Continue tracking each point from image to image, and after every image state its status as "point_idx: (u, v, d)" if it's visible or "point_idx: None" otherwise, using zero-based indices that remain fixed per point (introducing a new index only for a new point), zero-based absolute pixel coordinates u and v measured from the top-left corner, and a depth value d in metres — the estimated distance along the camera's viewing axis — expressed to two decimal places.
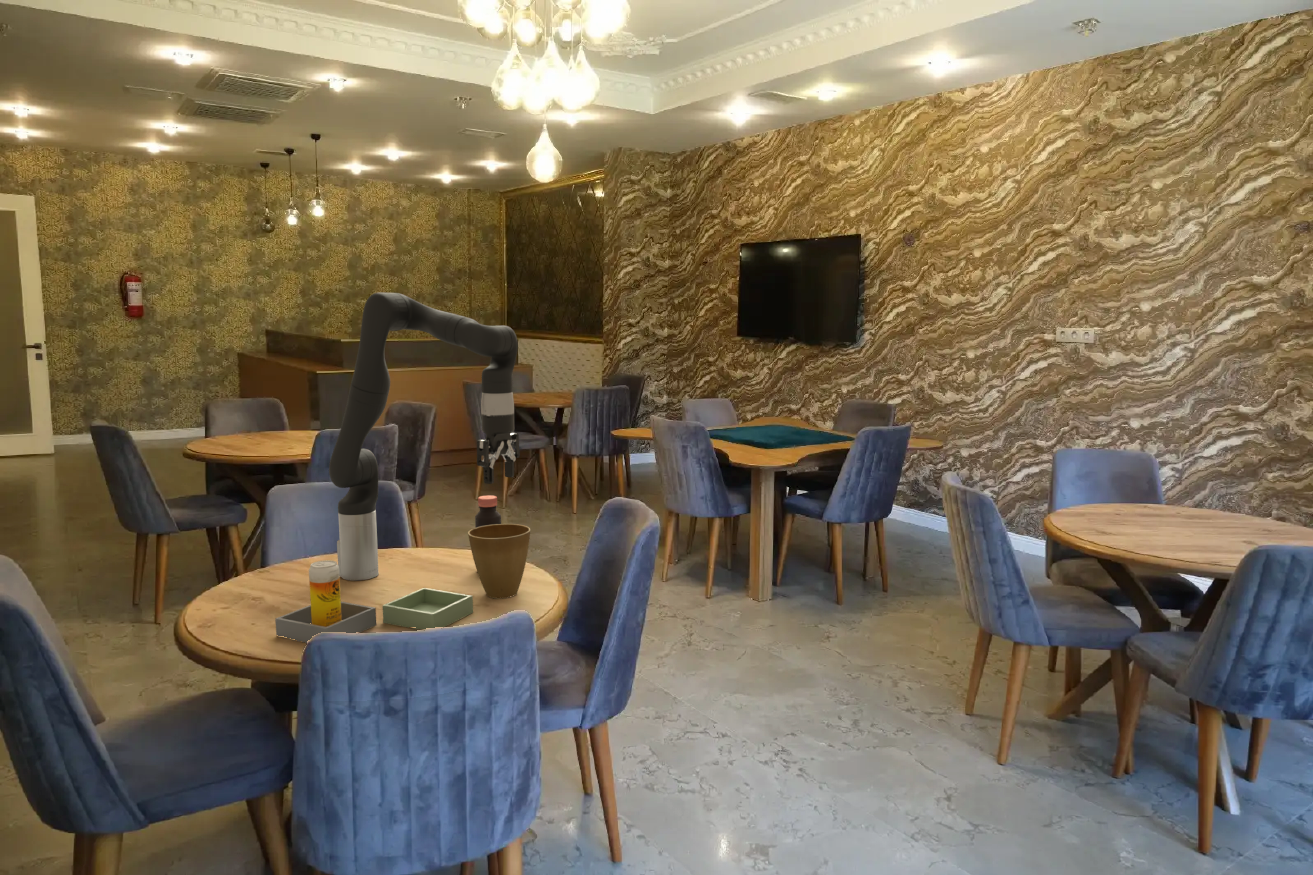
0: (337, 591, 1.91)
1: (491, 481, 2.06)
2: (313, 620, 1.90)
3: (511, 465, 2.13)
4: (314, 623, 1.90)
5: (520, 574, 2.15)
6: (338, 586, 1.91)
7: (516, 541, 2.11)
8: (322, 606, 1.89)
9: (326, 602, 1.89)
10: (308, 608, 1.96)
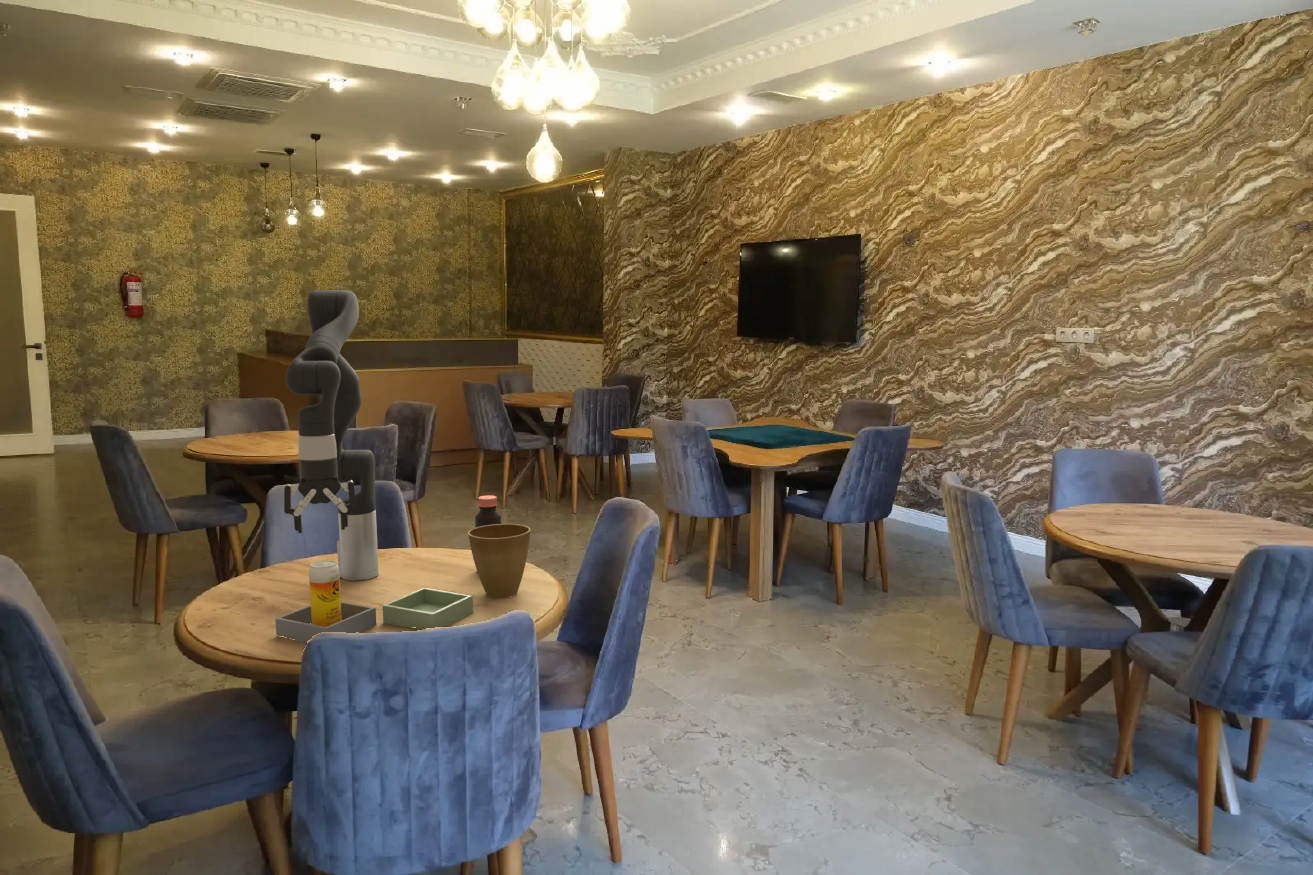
0: (337, 591, 1.91)
1: None
2: (313, 620, 1.90)
3: None
4: (314, 623, 1.90)
5: (520, 574, 2.15)
6: (338, 586, 1.91)
7: (516, 541, 2.11)
8: (322, 606, 1.89)
9: (326, 602, 1.89)
10: (308, 608, 1.96)
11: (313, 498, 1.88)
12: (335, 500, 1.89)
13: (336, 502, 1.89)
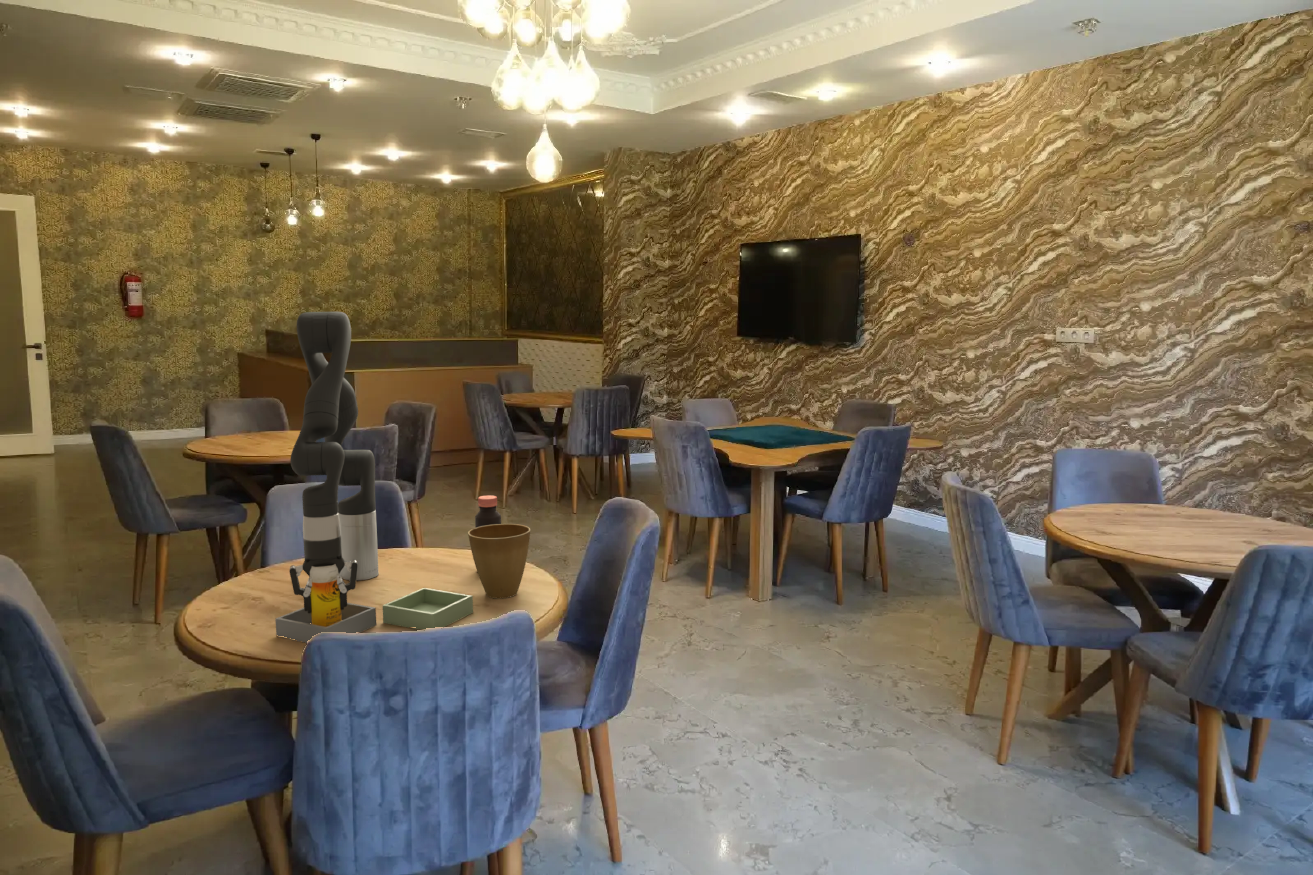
0: (337, 591, 1.91)
1: None
2: (313, 620, 1.90)
3: None
4: (314, 623, 1.90)
5: (520, 574, 2.15)
6: (338, 586, 1.91)
7: (516, 541, 2.11)
8: (322, 606, 1.89)
9: (327, 602, 1.89)
10: None
11: None
12: (337, 580, 1.91)
13: (337, 582, 1.91)
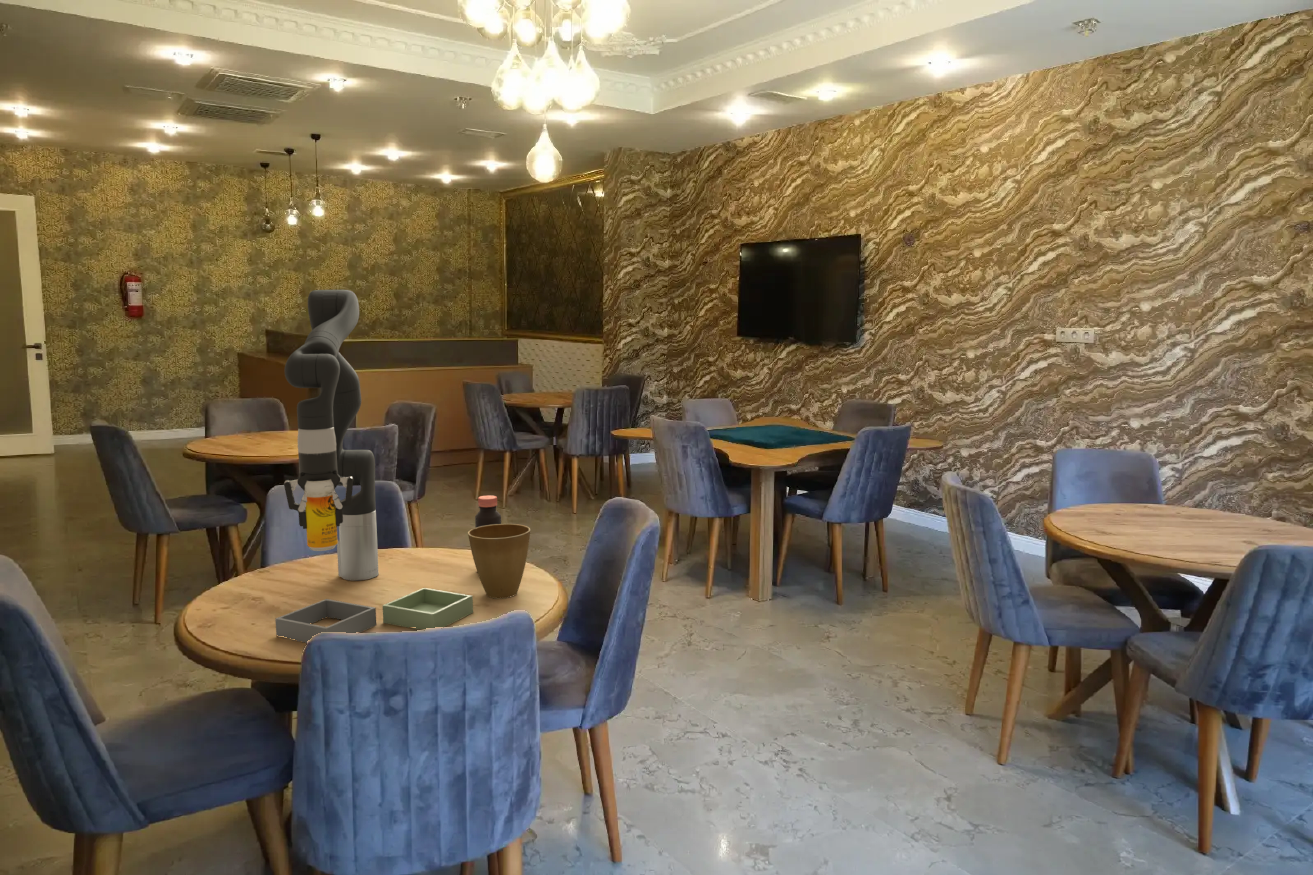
0: (332, 507, 1.88)
1: None
2: (308, 536, 1.88)
3: None
4: (309, 539, 1.88)
5: (520, 574, 2.15)
6: None
7: (516, 541, 2.11)
8: (317, 521, 1.87)
9: (322, 517, 1.87)
10: (308, 608, 1.96)
11: None
12: None
13: (333, 497, 1.88)
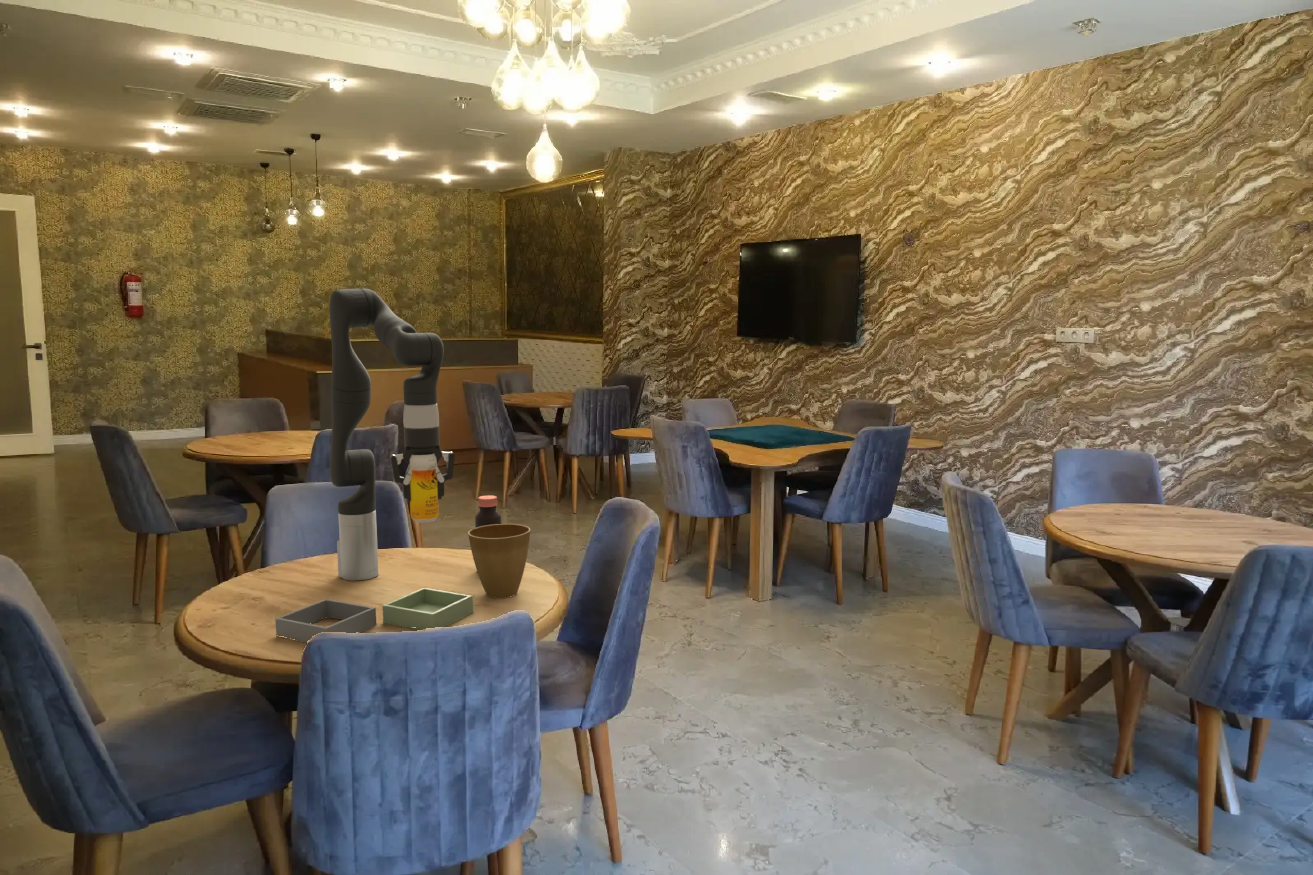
0: (435, 480, 1.96)
1: None
2: (412, 508, 1.96)
3: None
4: (413, 511, 1.95)
5: (520, 574, 2.15)
6: (436, 475, 1.97)
7: (516, 541, 2.11)
8: (421, 493, 1.94)
9: (426, 490, 1.95)
10: (308, 608, 1.96)
11: None
12: None
13: (436, 471, 1.96)
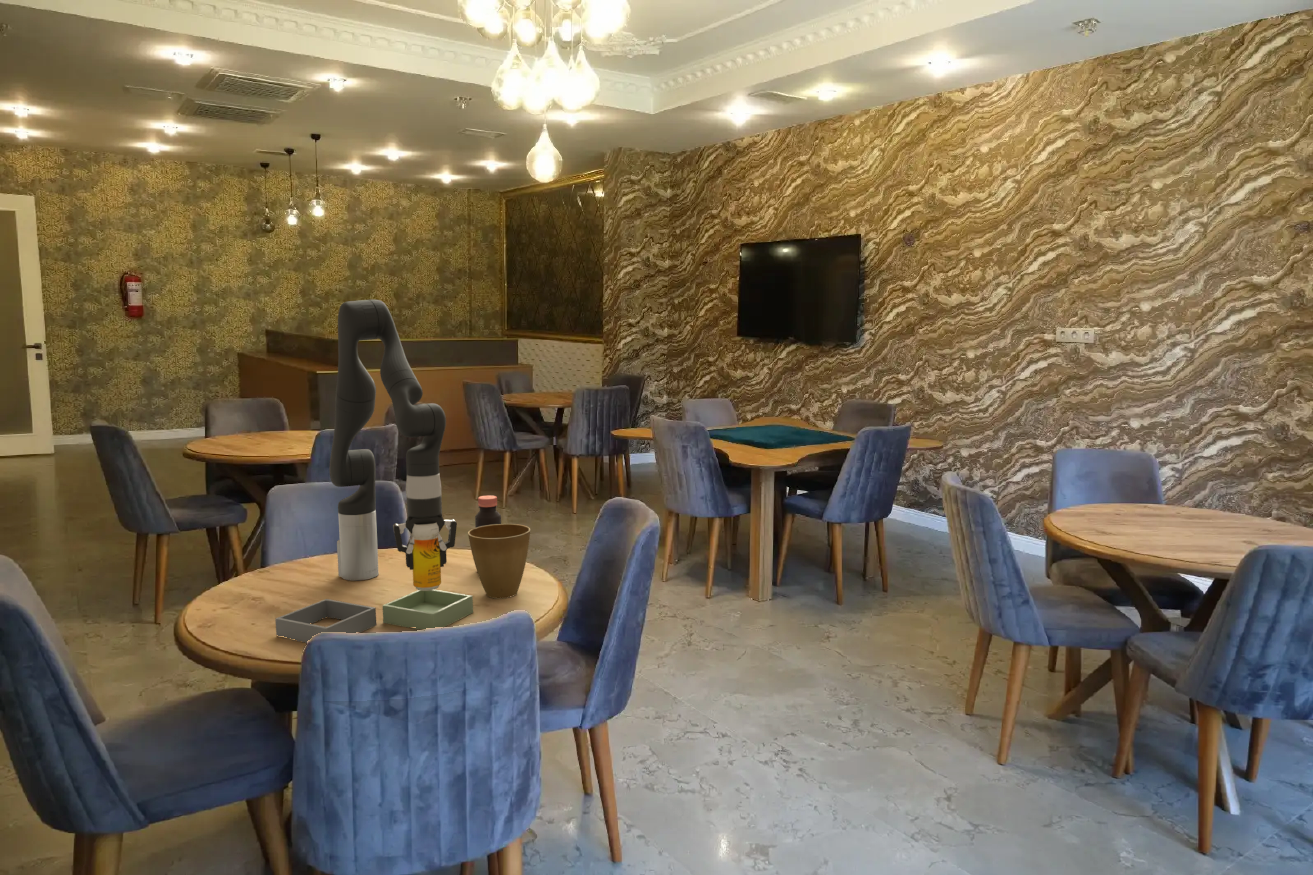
0: (438, 549, 1.98)
1: None
2: (415, 576, 1.98)
3: None
4: (416, 579, 1.98)
5: (520, 574, 2.15)
6: None
7: (516, 541, 2.11)
8: (424, 562, 1.96)
9: (428, 559, 1.97)
10: (308, 608, 1.96)
11: None
12: (438, 537, 1.98)
13: (438, 539, 1.98)
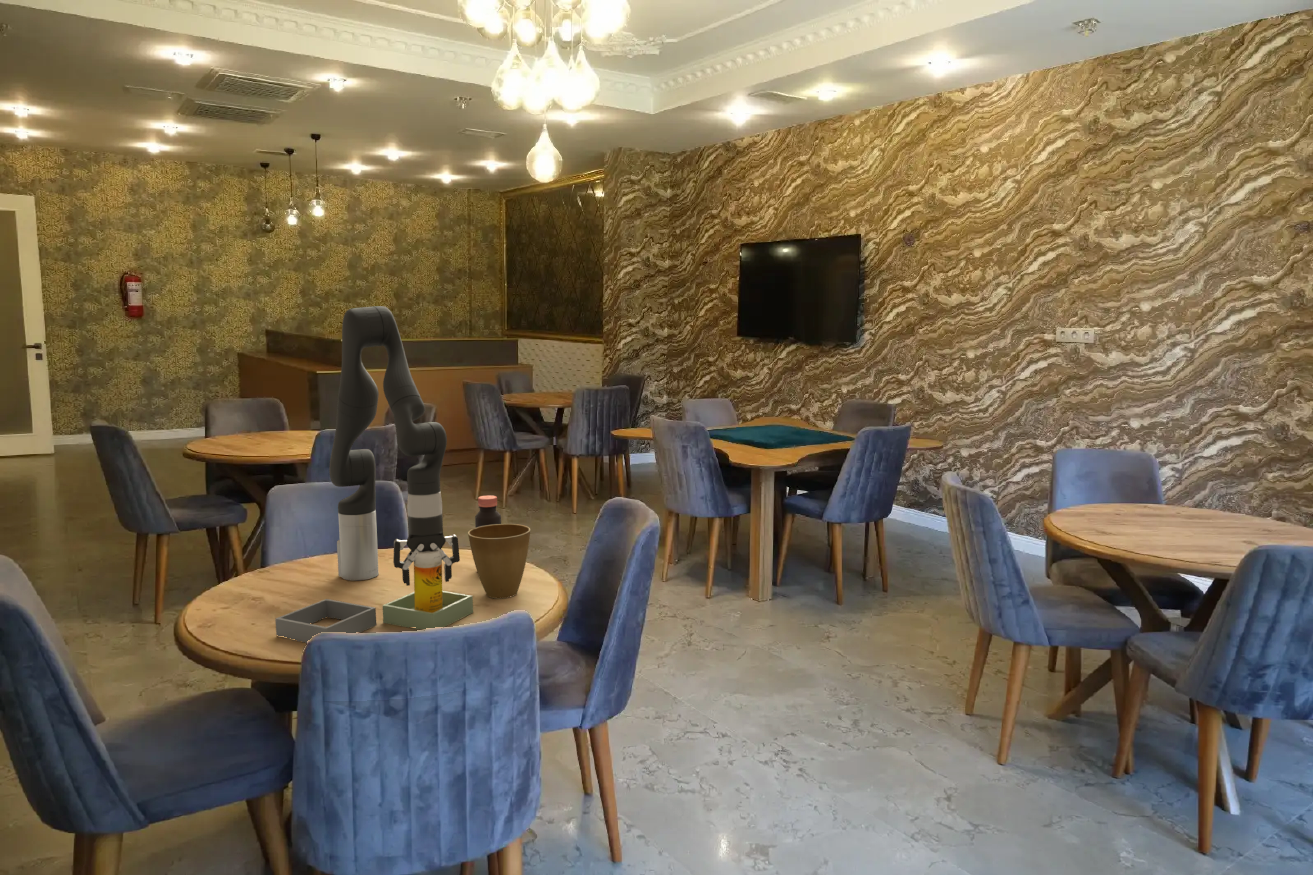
0: (440, 576, 1.99)
1: None
2: (417, 603, 1.99)
3: None
4: (418, 606, 1.99)
5: (520, 574, 2.15)
6: (441, 571, 2.00)
7: (516, 541, 2.11)
8: (426, 590, 1.97)
9: (431, 587, 1.98)
10: (308, 608, 1.96)
11: None
12: (441, 554, 1.99)
13: (441, 556, 1.99)
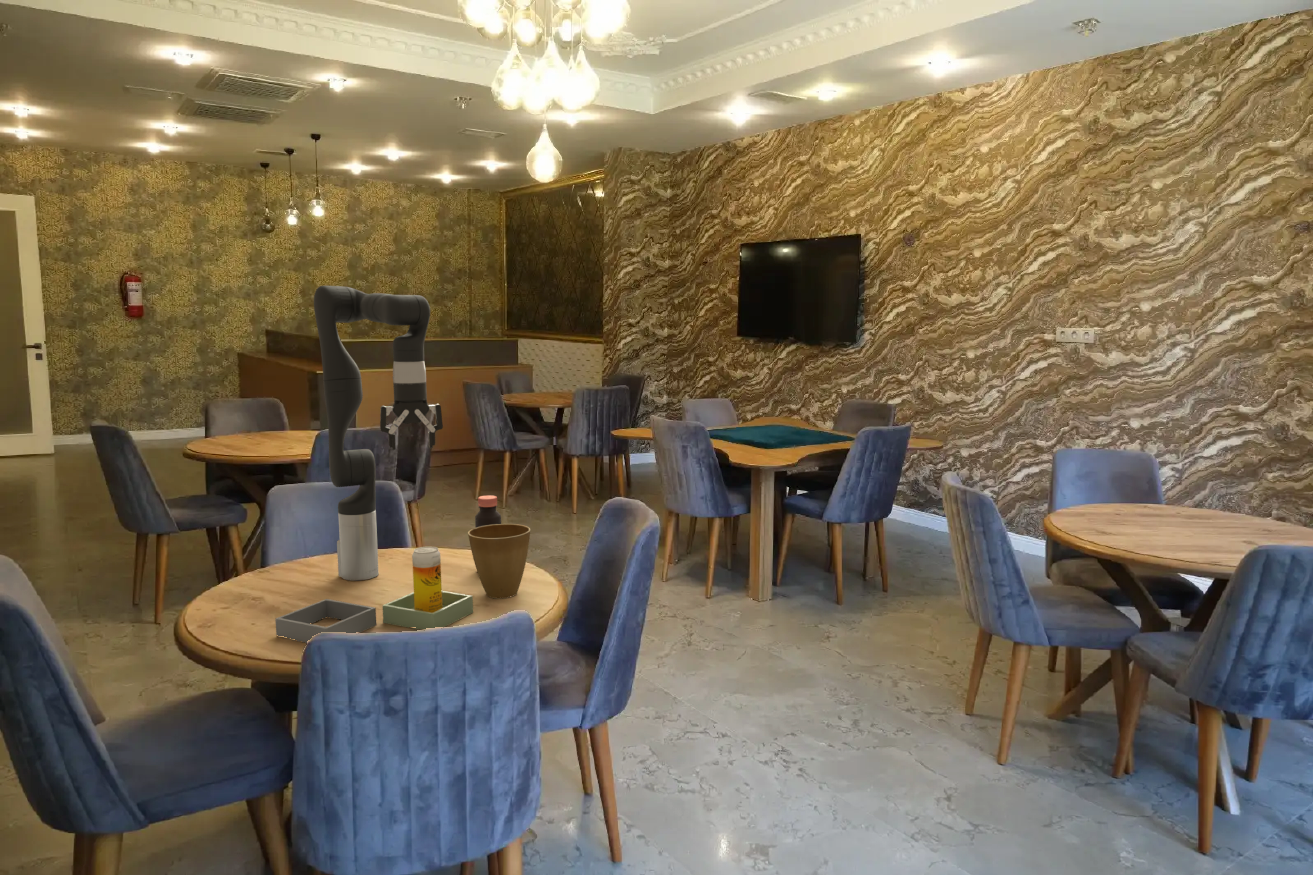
0: (439, 576, 1.99)
1: None
2: (416, 603, 1.99)
3: None
4: (417, 606, 1.99)
5: (520, 574, 2.15)
6: (440, 571, 2.00)
7: (516, 541, 2.11)
8: (425, 590, 1.97)
9: (430, 586, 1.98)
10: (308, 608, 1.96)
11: (405, 418, 2.10)
12: (425, 420, 2.11)
13: (425, 422, 2.11)
